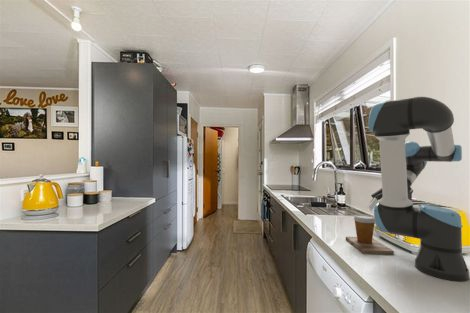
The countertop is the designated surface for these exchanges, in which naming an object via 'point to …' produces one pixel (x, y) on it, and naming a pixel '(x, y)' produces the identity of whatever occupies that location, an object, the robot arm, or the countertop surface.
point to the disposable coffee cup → (364, 228)
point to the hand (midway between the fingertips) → (381, 211)
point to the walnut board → (370, 246)
